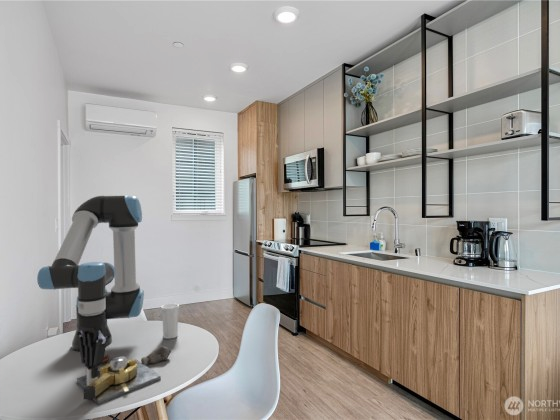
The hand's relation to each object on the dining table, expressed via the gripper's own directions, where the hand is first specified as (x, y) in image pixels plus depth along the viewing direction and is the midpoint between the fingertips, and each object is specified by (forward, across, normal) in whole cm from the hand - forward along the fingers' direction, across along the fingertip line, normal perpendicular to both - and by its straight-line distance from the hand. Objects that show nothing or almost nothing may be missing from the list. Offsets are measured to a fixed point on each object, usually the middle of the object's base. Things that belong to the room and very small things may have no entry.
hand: (92, 386), depth 106 cm
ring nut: (+1, 0, +6) cm, 6 cm away
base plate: (+3, -1, +10) cm, 10 cm away
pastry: (+3, -21, +15) cm, 26 cm away
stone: (+3, -1, +26) cm, 26 cm away
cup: (+3, -16, +46) cm, 49 cm away
